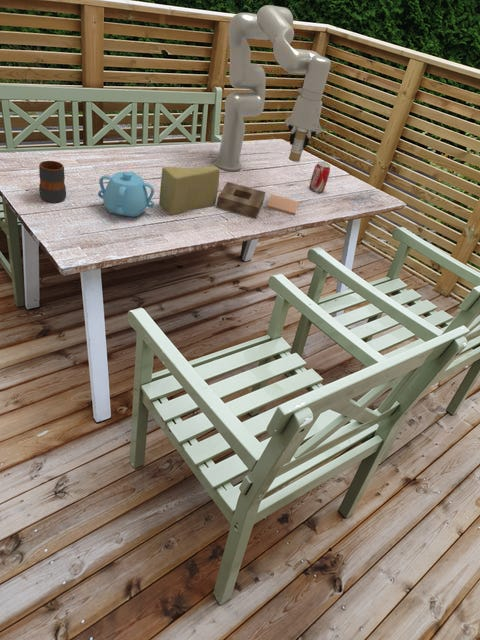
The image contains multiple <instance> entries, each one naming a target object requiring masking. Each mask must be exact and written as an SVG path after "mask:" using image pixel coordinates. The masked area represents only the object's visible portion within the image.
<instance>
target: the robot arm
mask: <svg viewBox="0 0 480 640" xmlns="http://www.w3.org/2000/svg"><path fill="white" fill-rule="evenodd" d="M293 25H294V17H293V14H292V11H291V10H290V9H289V8H288V7H282V6H276V5H269V4H268V5H266V4H265V5H263V6H262V7H261V8H259V9H258V11H257V13H252V12H239V13H236V14H234V15H233V16H232V18H231V19H230V22H229V25H228V32H227V33H228V34H227V35H228V36H227V37H228V42H229V44H228V45H229V51H230V52H229V82H230V83H229V84H230V86H232V88H235V89H239V90H248V92H246V91H245V92H242V91H234V92H232V93H229V94H228V95H227V96H226V98H225V102H224V121H223V128H222V135H221V139H220V141H221V142H220V147H219V151H218V152H215V151H210V152H209V157H210V158H213V159H214V162H213V163H214V166H215V167H217V168H218V169H220V170H221V169H222V170H224V171H229V172H231V171H232V172H235V171H240V170H241V169H242V163H241V162H240V157H241V153H242V147H243V145H244V143H243V142H244V137H245V132H246V124H245V121H244V118H245V117H246V118H247V117H249V118H251V117H258V116H260V115H262V113H264V112H263V111H264V108H265V99H266V83H267V82H266V81H267V77H266V73H265V69H264V67H262V65H260V64H257V63H252V61H251V60H252V59H251V57H252V56H251V55H252V51H251V47H250V45H249V41H248V40H247V39H249V40H250V39H251V40H258V41H259V40H261V41H268V40H269V41H270V42H271V44H272V45H273V47H272V49H273V51H272V52H273V56H274V60H275V61H276V62H277V63H278V64H279V66H280V67H281V68H282V69H283V70H284V71H286V72H287V73H289V74H302V75H305V77H304V81H303V84H302V85H303V86H302V87H298V88H297V93H299V94H300V95H298V96H297V98H296V100H295V102H294V107H293V110H292V113H291V114H290V115H288V117H287V118H286V119H285V120H284V124H285V125H286V126H287V128H288V129H289V132H290V136H289V137H290V138H289V140H288V141H289V142H290V144H289V145H290V146H292V144H293V140H294V136H295V133H296V128H297V127H298V128H302V129H306V130H308V132H307V135H306V139H305V143H304V146H303V149H305V148H306V147H308V146H309V143H310V138H313V136H315V135H318V134H321V133H322V131H323V129H322V127H321V123H320V117H321V113H322V109H323V101H322V98H323V94H324V91H325V88H326V84H327V80H328V76H329V74H330V69H331V65H332V61H331V60H330V59H329V58H328V57H325V56H322V55H321V54H319V53H318V52H316V51H315V50H309V49H308V50H307V49H302V48H301V49H299V48H293V46H291V45H290V44H292V41H293V40H294V36H295V30H294V28H293Z"/></svg>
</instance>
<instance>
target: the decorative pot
mask: <svg viewBox="0 0 480 640" xmlns="http://www.w3.org/2000/svg"><path fill="white" fill-rule="evenodd" d="M104 179H105V180H106V179H107V180H108V182H107V185H106V186H104V181H103V180H104ZM99 187H100V190H99V191H98V193H97V196H98V197H99V198H100V199H102V200H103V205H104V207H105V208H106V210H108V212H109V213H111V214H115V215H121V216H125V217H131V218H136V217H137V216H139V215H142V213H143V212H144V211H145V210H146V209H147V208H149V209H150V208H153V207H154V206H155V202H154V200H152V198H153V196H154V194H155V188H154V186H153V185H152V184H151V183H149V182H145V181H144V178H143V177H142V176H140V175H139V174H136V173H135V171H131V170H130V171H118V172H115V173H114V174H113V175H108V174H104V175H102V176H101V177H100V178H99ZM147 188H149V189H150V194H149V193H148V189H147ZM148 194H149V195H148Z"/></svg>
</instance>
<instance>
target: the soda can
mask: <svg viewBox="0 0 480 640" xmlns="http://www.w3.org/2000/svg"><path fill="white" fill-rule="evenodd" d="M312 171H313V172H312V175H311V178H310V182H309V188H310V190H311V191H313V192H315V193H322V192H324V191H325V188H326V185H327V183H328V179H329V176H330V174H331V173H330V172H331V165H330V164H329V163H328V162H325V161H318V162H317V164H316V165H315V166H314V169H313V170H312Z"/></svg>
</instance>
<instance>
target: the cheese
mask: <svg viewBox="0 0 480 640" xmlns="http://www.w3.org/2000/svg"><path fill="white" fill-rule="evenodd" d="M220 170H221V169H220V168H219V167H217V166H215V165H214V166H213V165H212V166H200V167H199V166H197V167H175V166H174V167H173V166H163V167H162V169H161V176H160V178H161V179H160V188H159V199H158V200H159V203H158V204H159V206H160V207H161V208H162V209H163V210H164V212H166V213H167V214H168V215H170V216H173V215H178V214H181V213H183V212H187V211H193V210H196V209H202V208H207V207H212V206H216V204H217V199H218V191H219V182H220Z"/></svg>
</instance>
